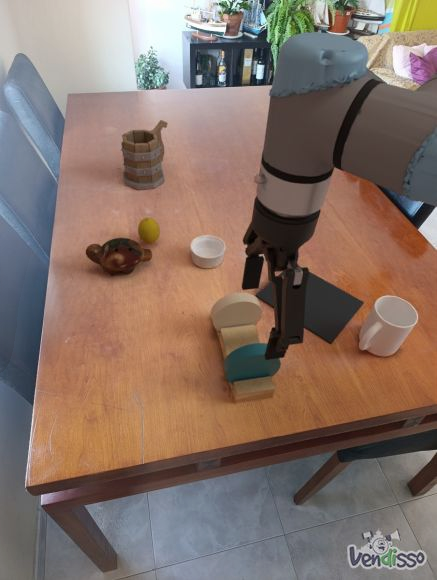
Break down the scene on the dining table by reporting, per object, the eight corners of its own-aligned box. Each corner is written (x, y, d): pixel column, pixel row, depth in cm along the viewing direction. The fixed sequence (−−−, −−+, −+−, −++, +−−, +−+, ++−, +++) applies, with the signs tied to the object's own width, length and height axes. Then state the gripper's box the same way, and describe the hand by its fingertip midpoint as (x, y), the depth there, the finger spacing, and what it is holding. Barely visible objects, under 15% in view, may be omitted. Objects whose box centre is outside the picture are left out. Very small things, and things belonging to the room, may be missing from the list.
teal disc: (275, 381, 70) (285, 350, 63) (223, 389, 68) (228, 359, 61) (272, 370, 72) (281, 339, 64) (221, 377, 70) (225, 347, 63)
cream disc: (258, 330, 78) (265, 298, 71) (211, 336, 76) (214, 304, 69) (255, 321, 80) (262, 289, 72) (209, 327, 78) (211, 295, 71)
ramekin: (231, 256, 97) (232, 243, 94) (211, 275, 92) (212, 262, 89) (203, 243, 100) (204, 230, 97) (183, 260, 95) (182, 247, 92)
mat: (363, 303, 88) (364, 302, 88) (330, 344, 79) (331, 343, 79) (292, 263, 96) (292, 262, 96) (255, 296, 88) (255, 295, 87)
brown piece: (86, 261, 93) (81, 234, 87) (146, 252, 98) (146, 226, 92) (91, 286, 86) (87, 259, 81) (156, 276, 91) (156, 249, 86)
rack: (271, 401, 70) (276, 387, 66) (233, 407, 68) (235, 394, 65) (245, 318, 83) (248, 303, 79) (212, 322, 82) (214, 307, 78)
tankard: (146, 194, 115) (142, 147, 104) (115, 181, 119) (108, 134, 108) (184, 168, 127) (184, 124, 116) (155, 157, 131) (151, 113, 120)
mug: (367, 372, 75) (387, 342, 67) (337, 343, 80) (353, 312, 72) (404, 346, 80) (427, 316, 72) (374, 321, 84) (392, 289, 77)
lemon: (135, 241, 99) (132, 216, 93) (153, 234, 102) (151, 209, 96) (147, 252, 96) (144, 227, 90) (164, 244, 99) (163, 219, 93)
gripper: (231, 149, 49) (220, 266, 65) (293, 282, 33) (259, 397, 48) (285, 147, 51) (262, 262, 66) (370, 274, 34) (313, 388, 50)
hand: (261, 319), depth 57 cm, fingers open, 13 cm apart
